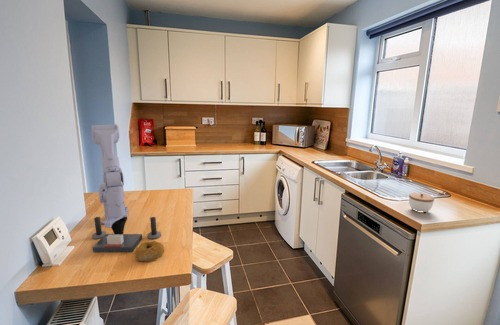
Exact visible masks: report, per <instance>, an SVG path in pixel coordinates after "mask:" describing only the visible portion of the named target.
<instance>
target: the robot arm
mask: <svg viewBox="0 0 500 325" xmlns="http://www.w3.org/2000/svg"><path fill="white" fill-rule="evenodd" d="M90 127H91V128H90V129H91V136H92V142H93V143H94V145H98V146H99V147H100V149H101V150H100V151H101V157H102V158H101V166H102V183H100V184H99V185H98V196H99V197H98V198H99V202H100V203H101V204H103V209H104V220H103V221H102V222H101V225H103V224H104V228H105V229H107V228H108V229H111V230H112V231H113V234H124V230H125V226H126V222H127V221H128V216H129V213H128V212H129V207H128V206H126V202H125V190H124V186H125V179H124V174H123V171H122V168H121V165H120V160H119V156H118V155H116V154H115V144H117V143H118V142H119V139H120V128H119V125H118V124H116V123H115V124H97V125H96V124H95V125H94V124H92V125H91V126H90Z"/></svg>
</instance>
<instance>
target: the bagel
mask: <svg viewBox="0 0 500 325" xmlns="http://www.w3.org/2000/svg"><path fill="white" fill-rule="evenodd" d="M164 252H165V247H164V244H163V243H161V242H158V241H156V240H151V241H145V242H142V243H141V242H140V245H138V246H137V247H136V248H135V251H134V256H135V257H134V258H135V259H136V260H137V261H139V262H153V261H156V260H158V259H160V258H162V257H163V255H164Z"/></svg>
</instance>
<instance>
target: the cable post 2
mask: <svg viewBox="0 0 500 325" xmlns="http://www.w3.org/2000/svg"><path fill="white" fill-rule="evenodd" d="M149 221H150V230H151V231H150V232H149V233H147V238H148V239H149V240H157V239H159V238H160V237H161V236H162V234H161V231H159V230H157V218H156V216H152V217H151V216H150V219H149Z"/></svg>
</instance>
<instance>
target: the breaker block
mask: <svg viewBox="0 0 500 325" xmlns="http://www.w3.org/2000/svg"><path fill="white" fill-rule="evenodd" d="M109 234H110V233H106V235H105V236H104V237H103V238H102V239H99V241H97V243H95V244H94V245H93V246H92V253H133V252H135V251H134V250H136V249H137V248H138V246H139V244H141V242H142V240H143V234H142V233H123V240H124V242H123V243H122V244H121V245H107V236H108V235H109Z"/></svg>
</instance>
